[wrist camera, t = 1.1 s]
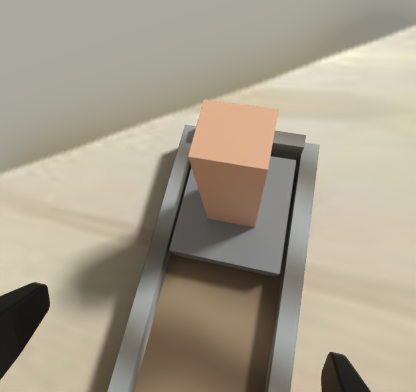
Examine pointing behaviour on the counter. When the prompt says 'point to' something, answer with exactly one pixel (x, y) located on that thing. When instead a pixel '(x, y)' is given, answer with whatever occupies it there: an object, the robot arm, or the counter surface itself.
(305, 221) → the rail
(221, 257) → the carriage
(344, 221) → the counter surface
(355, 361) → the counter surface
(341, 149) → the counter surface
